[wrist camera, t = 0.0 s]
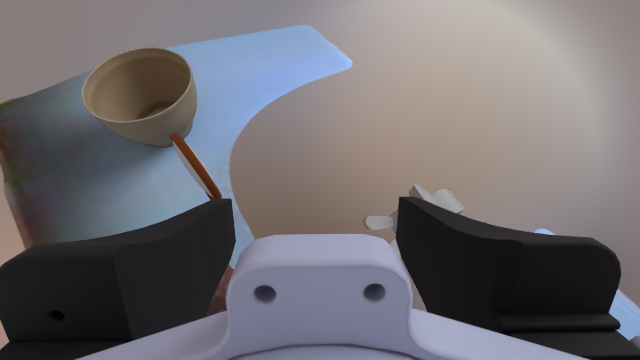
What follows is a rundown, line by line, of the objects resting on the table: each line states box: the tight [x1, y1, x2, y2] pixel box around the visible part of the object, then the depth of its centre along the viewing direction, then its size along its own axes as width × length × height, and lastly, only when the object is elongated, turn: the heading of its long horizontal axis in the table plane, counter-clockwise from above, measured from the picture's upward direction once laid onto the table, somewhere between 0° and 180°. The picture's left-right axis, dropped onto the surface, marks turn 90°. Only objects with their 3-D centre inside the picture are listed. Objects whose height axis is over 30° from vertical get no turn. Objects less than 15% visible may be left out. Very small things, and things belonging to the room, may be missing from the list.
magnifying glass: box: [169, 133, 222, 200], centre depth 39 cm, size 9×2×20 cm, turn 40°
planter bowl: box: [81, 47, 197, 147], centre depth 52 cm, size 16×16×11 cm
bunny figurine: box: [362, 184, 465, 260], centre depth 46 cm, size 10×5×15 cm
